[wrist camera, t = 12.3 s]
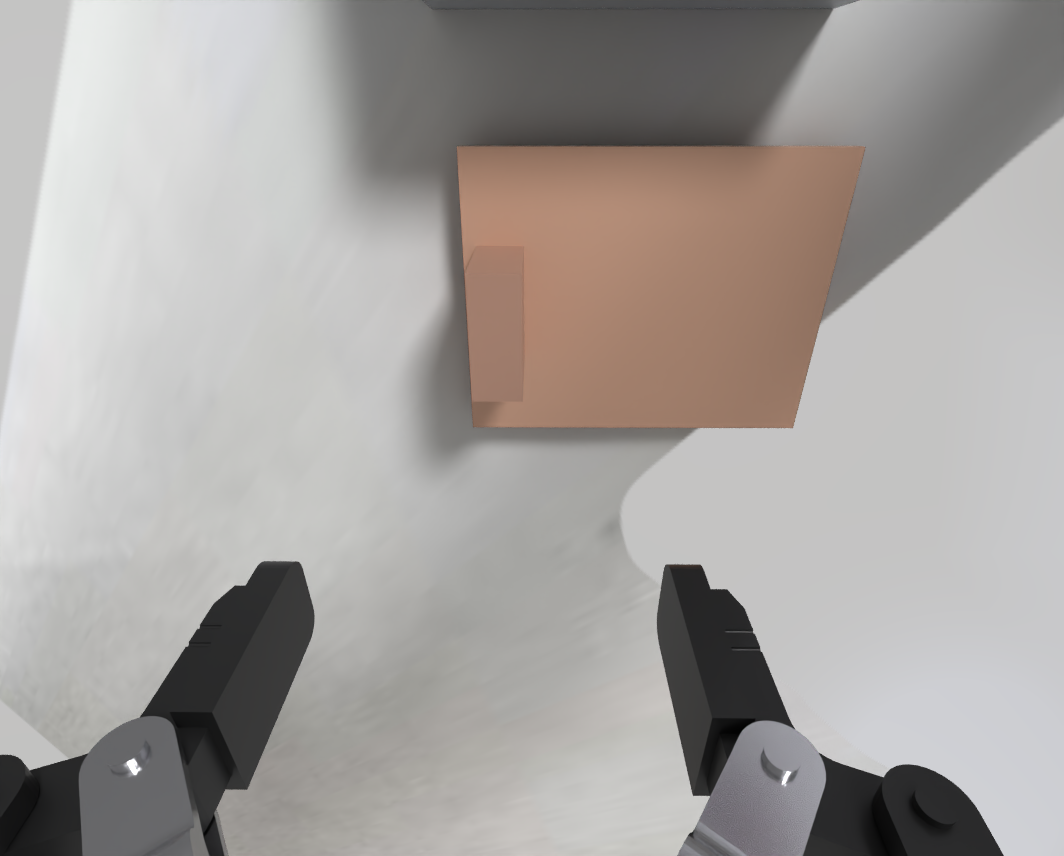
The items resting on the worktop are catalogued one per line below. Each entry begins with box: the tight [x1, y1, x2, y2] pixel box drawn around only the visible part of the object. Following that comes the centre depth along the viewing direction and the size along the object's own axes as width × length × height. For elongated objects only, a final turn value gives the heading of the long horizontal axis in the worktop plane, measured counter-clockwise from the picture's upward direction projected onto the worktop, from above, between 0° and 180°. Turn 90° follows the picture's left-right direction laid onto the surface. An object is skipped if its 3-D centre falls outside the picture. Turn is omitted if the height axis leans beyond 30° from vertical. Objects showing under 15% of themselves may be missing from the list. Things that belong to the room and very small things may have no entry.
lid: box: [457, 146, 865, 428], centre depth 29 cm, size 19×15×8 cm
